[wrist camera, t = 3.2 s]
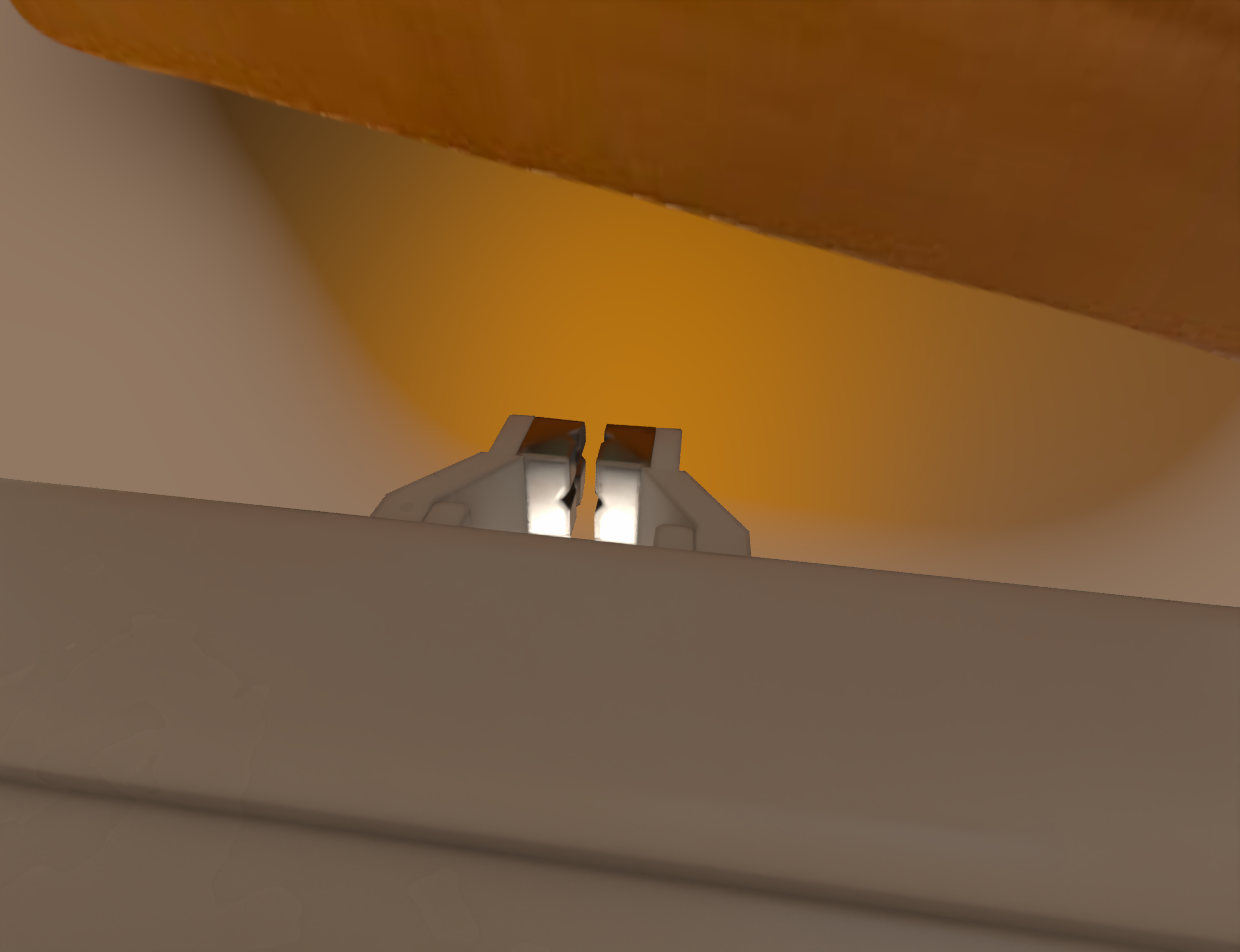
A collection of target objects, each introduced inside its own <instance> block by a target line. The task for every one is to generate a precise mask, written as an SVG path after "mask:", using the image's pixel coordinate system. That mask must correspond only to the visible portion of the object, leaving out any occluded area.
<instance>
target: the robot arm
mask: <svg viewBox="0 0 1240 952" xmlns="http://www.w3.org/2000/svg"><path fill="white" fill-rule="evenodd" d="M585 431H586V430H585V423H584V422H580V421H571V420H562V419H553V418H544V417H535V416H527V415H526V416H525V415H510V416H509V417H508V419H507V421H506V422H505V424H504V426H503V428H502V429H501V431H500V433H499V435H498V436H497V438H496V440H495V442H494V444H493V445H492V447H491V449H490V451H489V452H480V453H478V454H476V455H473V456H471V457H469V458H467V459H464V460H462V461H460V462H458V463H455V464H453V465H451V466H449V467H447V468H444V469H442V470H440V471H437V472H435V473H433V474H430V475H428V476H426V477H424V478H421V479H419V480H417V481H415V482H412V483H410V484H408V485H406V486H403V487H401V488H399V489H397V490H395V491H392V492H390V493H388V494H386V495H385V497H384V498H383V499H382V501H381V502H380V504H379V505H378V506H377V507H376V509H375V510H374V512H373V513H372V514H371V515H370V517H368V516H358V515H348V514H339V513H329V512H320V511H310V510H300V509H290V508H280V507H272V506H262V505H252V504H243V503H233V502H223V501H214V500H204V499H194V498H185V497H175V496H165V495H155V494H146V493H137V492H128V491H118V490H109V489H99V488H88V487H80V486H70V485H61V484H50V483H42V482H31V481H22V480H13V479H3V478H0V952H1240V607H1231V606H1220V605H1210V604H1200V603H1190V602H1181V601H1171V600H1162V599H1152V598H1143V597H1134V596H1124V595H1115V594H1105V593H1096V592H1086V591H1076V590H1067V589H1057V588H1048V587H1038V586H1029V585H1019V584H1009V583H1000V582H990V581H980V580H971V579H961V578H951V577H942V576H932V575H922V574H913V573H903V572H894V571H885V570H875V569H865V568H855V567H846V566H837V565H827V564H817V563H807V562H798V561H789V560H779V559H768V558H760V557H751V549H750V536H749V531H748V530H747V529H746V528H745V527H744V526H743V525H742V524H741V523H740V522H739V521H738V520H737V519H736V518H735V517H733V516H732V515H731V514H730V513H729V512H728V511H727V510H726V509H725V508H724V507H723V506H722V505H721V504H720V503H719V502H718V501H717V500H716V499H714V498H713V497H712V496H711V495H710V494H709V493H708V492H707V491H706V490H705V489H704V488H703V487H702V486H701V485H700V484H698V482H697V481H695V480H694V479H693V478H692V477H691V476H690V475H689V474H688V473H687V472H686V471H679V464H680V452H681V439H682V430H681V429H669V428H656V427H643V426H629V425H614V424H607V425H606V429H605V434H604V442H603V443H601V446H600V450H599V453H598V458H597V461H596V481H595V483H596V485H595V493H596V495H597V496H598V497H599V498H598V502H597V507H596V511H595V540H587V539H577V538H570V536H571V533H572V530H573V527H574V523H575V520H576V507H577V506H578V505H580V503H581V499H582V496H583V489H584V483H585V463H586V461H585V459H584V458H583V457H582V452H583V449H584V446H585V442H586V434H585V433H586V432H585Z"/></svg>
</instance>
